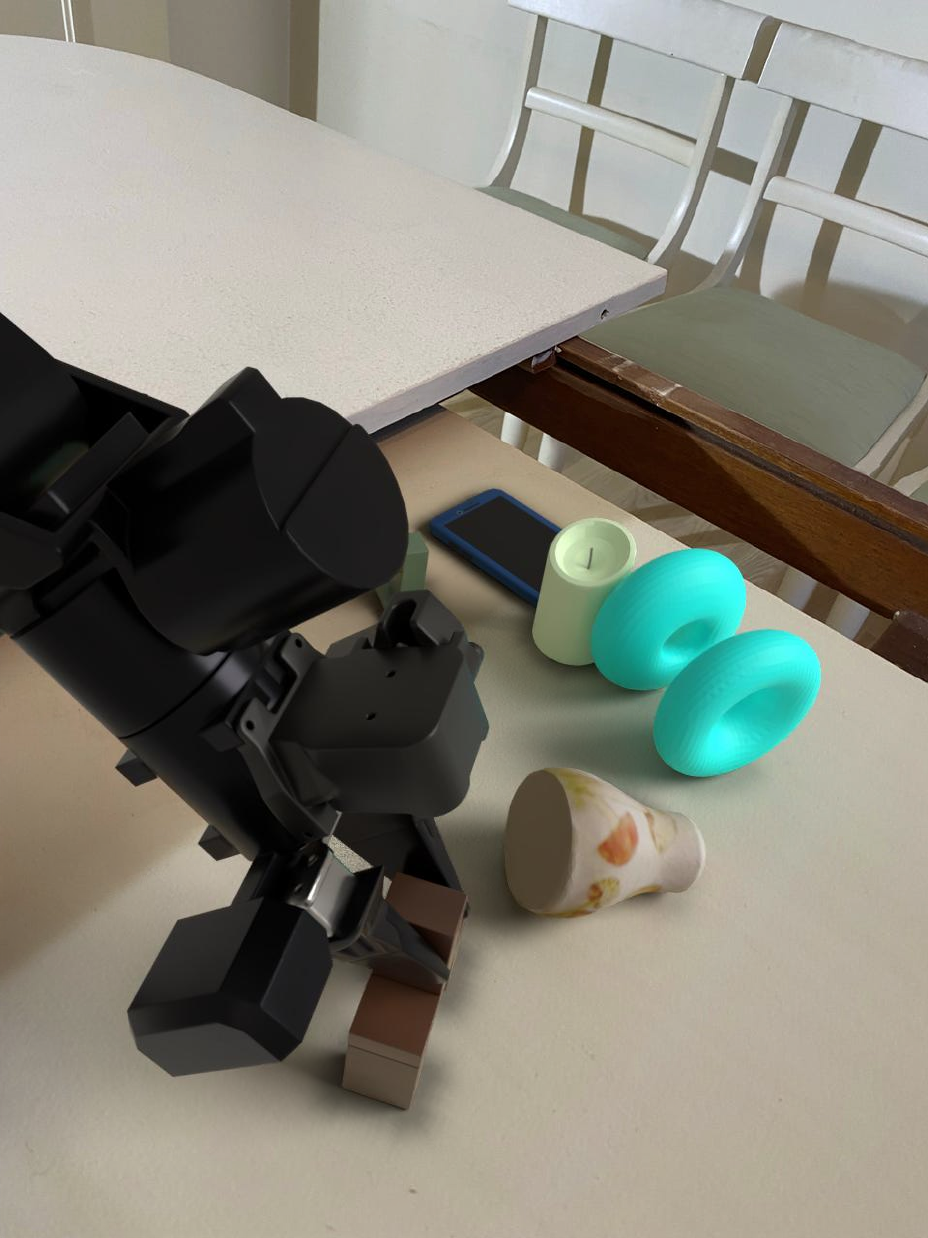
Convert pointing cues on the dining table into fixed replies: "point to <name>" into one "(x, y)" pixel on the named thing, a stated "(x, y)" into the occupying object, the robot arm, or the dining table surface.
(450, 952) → the brown stepped block
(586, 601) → the candle
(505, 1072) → the dining table surface
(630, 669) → the donuts
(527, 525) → the cell phone
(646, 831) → the flowered bud vase
